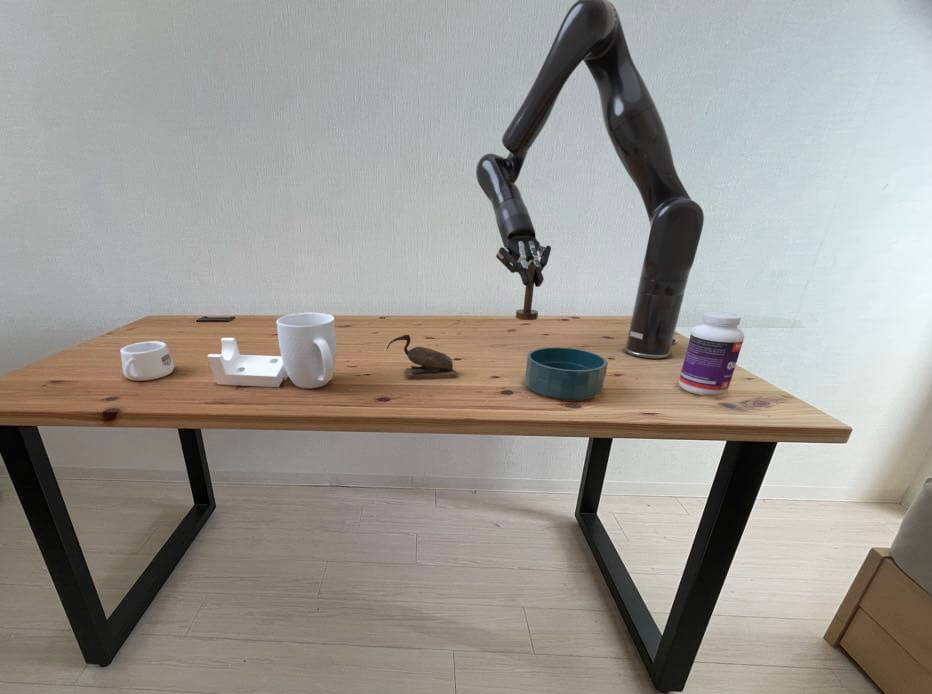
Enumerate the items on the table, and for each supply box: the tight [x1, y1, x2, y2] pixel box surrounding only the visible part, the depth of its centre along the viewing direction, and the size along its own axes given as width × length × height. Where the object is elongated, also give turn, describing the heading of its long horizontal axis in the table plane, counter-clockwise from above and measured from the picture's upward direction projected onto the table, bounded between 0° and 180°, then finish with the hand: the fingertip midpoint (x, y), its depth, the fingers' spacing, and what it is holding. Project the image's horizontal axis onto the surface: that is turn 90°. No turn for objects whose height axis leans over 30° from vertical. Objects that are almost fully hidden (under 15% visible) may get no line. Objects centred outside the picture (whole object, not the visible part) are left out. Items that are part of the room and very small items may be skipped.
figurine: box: [386, 334, 456, 380], centre depth 94 cm, size 14×4×9 cm, turn 94°
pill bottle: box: [677, 310, 745, 397], centre depth 83 cm, size 8×8×14 cm
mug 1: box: [120, 340, 175, 382], centre depth 95 cm, size 12×10×6 cm
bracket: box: [206, 337, 289, 388], centre depth 92 cm, size 13×7×8 cm, turn 82°
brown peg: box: [515, 264, 539, 321], centre depth 105 cm, size 5×5×12 cm
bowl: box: [524, 346, 609, 401], centre depth 87 cm, size 14×14×6 cm
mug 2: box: [276, 312, 338, 389], centre depth 88 cm, size 15×11×13 cm
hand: (534, 284), depth 102 cm, fingers closed on brown peg
